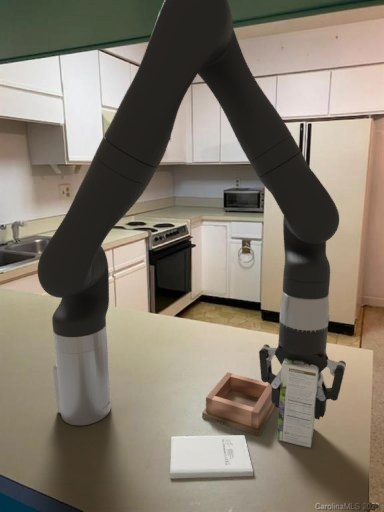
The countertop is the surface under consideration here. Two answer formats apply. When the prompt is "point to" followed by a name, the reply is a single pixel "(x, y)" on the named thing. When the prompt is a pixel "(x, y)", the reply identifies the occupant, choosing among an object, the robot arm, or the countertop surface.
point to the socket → (240, 403)
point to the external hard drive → (209, 456)
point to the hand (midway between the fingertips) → (297, 410)
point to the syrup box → (297, 403)
